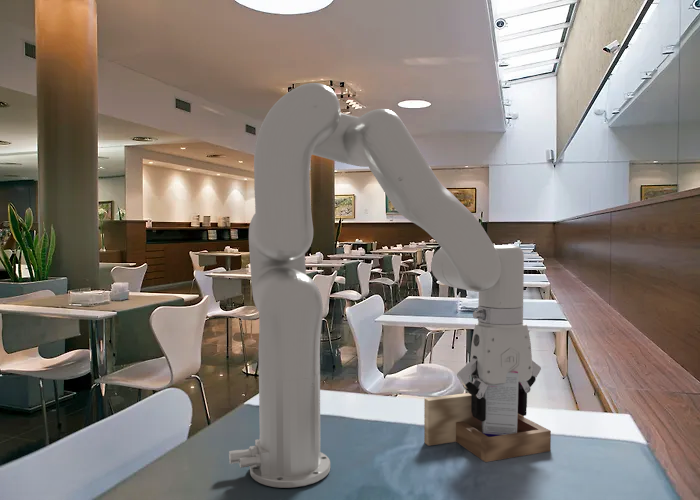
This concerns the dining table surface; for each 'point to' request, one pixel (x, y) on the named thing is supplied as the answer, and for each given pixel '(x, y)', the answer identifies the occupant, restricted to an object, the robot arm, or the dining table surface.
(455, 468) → the dining table surface
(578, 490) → the dining table surface
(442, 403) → the wooden tray holder
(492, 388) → the supplement box
